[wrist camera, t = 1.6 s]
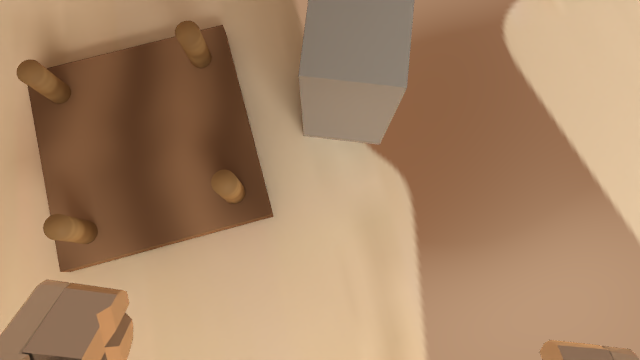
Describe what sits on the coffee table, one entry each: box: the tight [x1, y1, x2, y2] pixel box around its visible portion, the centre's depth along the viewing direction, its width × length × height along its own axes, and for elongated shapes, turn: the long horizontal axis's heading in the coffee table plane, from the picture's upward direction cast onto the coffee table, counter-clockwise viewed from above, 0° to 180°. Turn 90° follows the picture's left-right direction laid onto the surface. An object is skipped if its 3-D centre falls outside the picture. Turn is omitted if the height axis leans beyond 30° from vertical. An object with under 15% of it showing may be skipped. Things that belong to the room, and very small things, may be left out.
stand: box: [17, 21, 273, 272], centre depth 30 cm, size 13×13×5 cm
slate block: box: [299, 0, 414, 144], centre depth 28 cm, size 5×5×10 cm
